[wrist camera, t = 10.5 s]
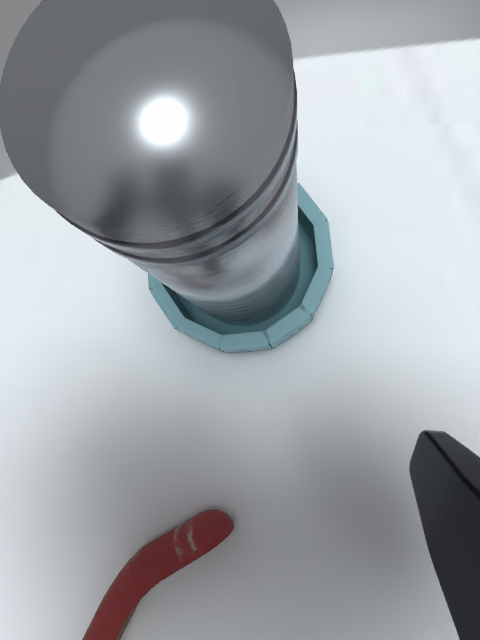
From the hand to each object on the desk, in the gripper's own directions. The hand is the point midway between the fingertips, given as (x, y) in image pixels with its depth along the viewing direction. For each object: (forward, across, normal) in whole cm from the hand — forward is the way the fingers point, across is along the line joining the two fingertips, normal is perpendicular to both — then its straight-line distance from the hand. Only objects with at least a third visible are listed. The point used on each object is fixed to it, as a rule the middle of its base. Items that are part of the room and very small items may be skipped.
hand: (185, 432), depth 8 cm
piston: (+13, -1, +1) cm, 13 cm away
